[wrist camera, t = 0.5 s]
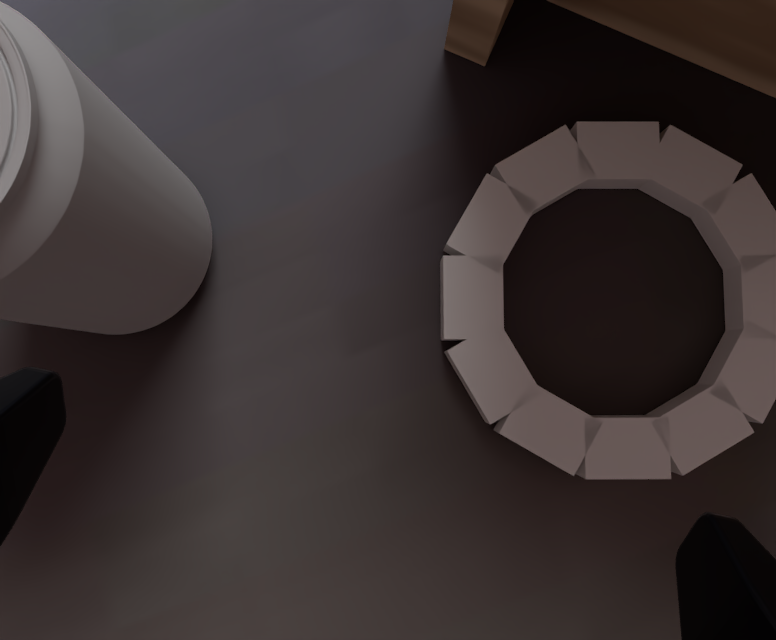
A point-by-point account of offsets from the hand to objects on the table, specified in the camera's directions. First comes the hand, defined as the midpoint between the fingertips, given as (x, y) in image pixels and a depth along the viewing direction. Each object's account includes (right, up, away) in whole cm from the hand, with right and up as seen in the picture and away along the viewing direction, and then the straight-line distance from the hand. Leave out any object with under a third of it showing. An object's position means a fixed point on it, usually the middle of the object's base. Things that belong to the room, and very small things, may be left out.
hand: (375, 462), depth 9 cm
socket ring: (+8, +3, +14) cm, 17 cm away
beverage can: (-9, +5, +14) cm, 18 cm away
